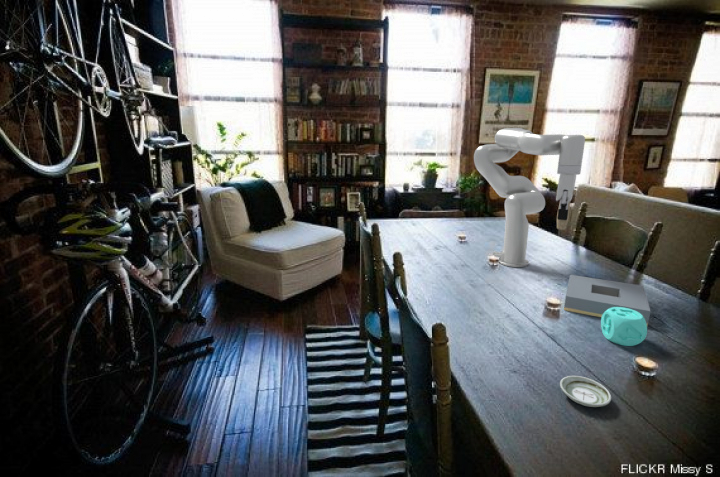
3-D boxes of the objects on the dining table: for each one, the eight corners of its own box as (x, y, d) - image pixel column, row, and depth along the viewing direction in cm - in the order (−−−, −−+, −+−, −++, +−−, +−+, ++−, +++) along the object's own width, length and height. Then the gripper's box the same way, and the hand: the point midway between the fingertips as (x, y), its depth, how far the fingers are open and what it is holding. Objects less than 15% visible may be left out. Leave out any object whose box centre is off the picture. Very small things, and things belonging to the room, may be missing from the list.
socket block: (563, 309, 121) (565, 295, 120) (568, 287, 139) (570, 274, 138) (647, 326, 110) (650, 311, 109) (640, 299, 128) (643, 285, 127)
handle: (572, 231, 138) (577, 191, 134) (552, 230, 140) (558, 190, 136) (569, 228, 143) (574, 189, 139) (551, 227, 145) (555, 188, 141)
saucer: (561, 408, 79) (563, 398, 78) (556, 380, 87) (557, 371, 87) (615, 419, 75) (617, 408, 75) (603, 389, 84) (605, 380, 83)
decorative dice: (644, 347, 99) (649, 320, 97) (611, 345, 101) (616, 318, 99) (629, 332, 107) (633, 307, 105) (598, 330, 108) (602, 305, 106)
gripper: (559, 167, 144) (553, 213, 149) (555, 171, 131) (549, 222, 136) (581, 168, 140) (575, 215, 145) (579, 172, 127) (572, 224, 132)
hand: (562, 218), depth 140 cm, fingers closed on handle, 3 cm apart
